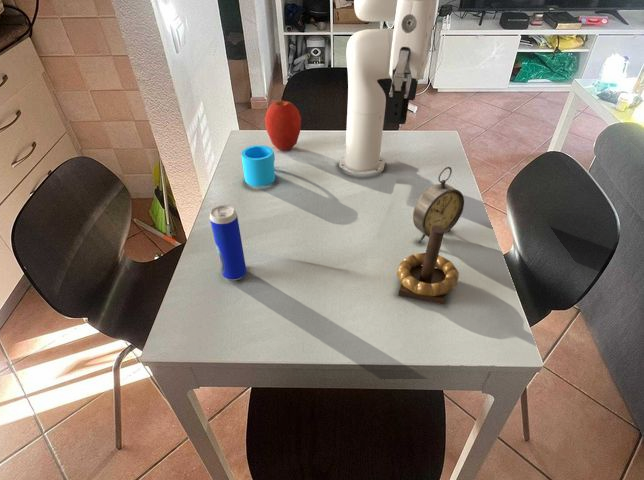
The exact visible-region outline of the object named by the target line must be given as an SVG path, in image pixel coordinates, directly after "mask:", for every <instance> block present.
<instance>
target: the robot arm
mask: <svg viewBox="0 0 644 480" xmlns="http://www.w3.org/2000/svg"><path fill="white" fill-rule="evenodd" d="M437 1H438V0H353V6H354V7H353V8H354V13H355V16H356V17H357V19H359V20H360V21H362V22H373V23H374V22H375V23H376V22H394V25H393V26H394V27H393V28H370V29H368V28H367V29H363V30H358V31H356V32H355V33H353V34H352V35H351V36H350V37H349V39H348V41H347V44H346V51H345V52H346V68H347V85H348V86H347V87H348V88H347V109H346V110H347V112H346V113H347V114H346V133H345V151H344V153H345V154H344V156H342V157H341V159H340V160H339V162H338V163H339V164H338V167H339V168H341V169H342V170H344V171H345V172H348V173H351V174H356V175H369V174H374V173H378V174H381V173H382V172H383V171H384V169H385V165H386V163H385V161H384V159H383V158H381V151H382V150H381V149H382V142H383V141H382V140H383V133H384V132H383V131H384V124H385V122H386V123H388V124H394V125H395V124H397V125H405V124H406V122H407V116H408V111H409V104H410V101H415V99H416V95H417V89H418V82H419V81H420V80H421V79H422V77H423V75H424V73H425V70H426V68H427V66H428V61H429V57H430V49H431V41H432V36H433V30H434V24H435V17H436V9H437ZM385 79H392V80H391V85H390V90H389V94H388V98H387V99H386V93H385V91H384V89H383V88H382V85H380V84H379V82H378V81H379V80H385ZM386 104H387V107H386ZM385 113H386V115H385Z"/></svg>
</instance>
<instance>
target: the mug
mask: <svg viewBox="0 0 644 480" xmlns="http://www.w3.org/2000/svg"><path fill="white" fill-rule="evenodd" d="M240 154H241V161H242V168H243V176H244V181H245V183H246V184H247V185H249V186H253V187H264V186H268V185H271V184H273V182H274V181H275V180H276V169H275V160H276V159H275V152H274V150H273V148H271V147H270V146H267V145H262V144H257V145H250V146H248V147H245V148H244V149H242V151H241V153H240Z"/></svg>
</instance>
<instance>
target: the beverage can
mask: <svg viewBox="0 0 644 480" xmlns="http://www.w3.org/2000/svg"><path fill="white" fill-rule="evenodd" d="M209 221H210V225H211V229H212V230H211V231H212V235H213V239H214V244H215V248H216V253H217V257H218V261H219V266H220V270H221V275H222V276H223V278H225V279H226V280H228V281H233V282H234V281H239V280H241V279H242V278H244V277H245V275H246V273H247V266H246V260H245V255H244V254H245V253H244V249H243V241H242V236H241V229H240V222H239V217H238V213H237V211H236V208H234V207H233V206H232V205H228V204H221V205H220V204H219V205H217V206H214V207H213V208H211V210H210V212H209Z"/></svg>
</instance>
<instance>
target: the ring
mask: <svg viewBox="0 0 644 480" xmlns="http://www.w3.org/2000/svg"><path fill="white" fill-rule="evenodd" d="M425 253H426V252H421V253H415V254H411V255H409V256H407V257H406V258H404V259H403V260H401V261H400V262H399V265H398V269H397V271H396V272H397V274H396V275H397V277H398V279H399V282H400V284H401V283H402V285H403V286H404V287H406V288H407V289H409V290H410V291H412V292H414V293H416V294H420V295H425V296H437V295H443V294H446V295H447V294H448V293H450V291H452V290H453V289H455V288H456V287H457V286H458V282H459V276H460V274H459V271H458V269H457V267H456V266H455V264H454V263H453V262H452V261H451V260H449V259H447V258H445V257H444V256H442V255H440V254H438V258H437V262H436V266H435V268H438V269H440V270H442V271H443V272H444V274H445V276H446V277H445V280H443V281H442V282H440V283H433V284H429V283H424V282H420V281H418V280H417V279H415V278H413V277H412V275H411V273H410V270H411V269H412V268H413V267H415V266H419V265H422V266H423V262H424V257H425Z"/></svg>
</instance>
